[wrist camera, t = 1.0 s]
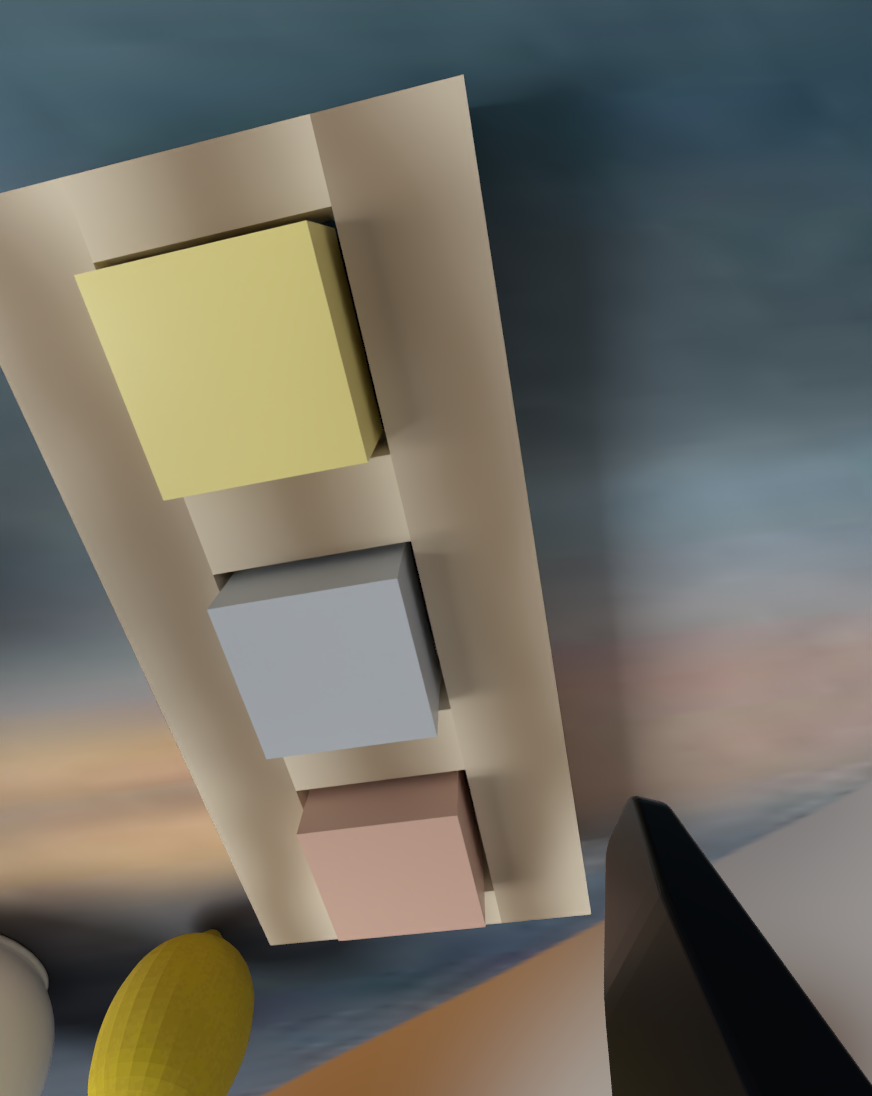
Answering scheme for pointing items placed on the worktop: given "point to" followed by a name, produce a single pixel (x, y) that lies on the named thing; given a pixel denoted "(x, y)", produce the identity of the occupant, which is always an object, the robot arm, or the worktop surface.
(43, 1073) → the lidded jar
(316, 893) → the button board
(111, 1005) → the lemon
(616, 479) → the worktop surface
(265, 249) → the yellow button
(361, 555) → the grey button
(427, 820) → the clay button
